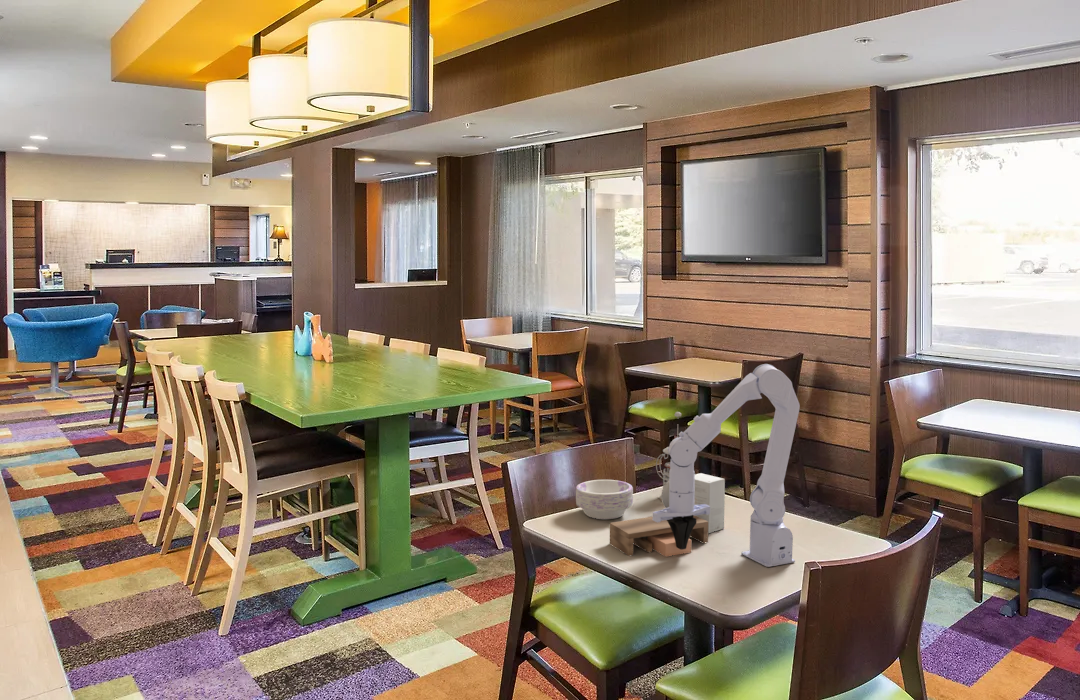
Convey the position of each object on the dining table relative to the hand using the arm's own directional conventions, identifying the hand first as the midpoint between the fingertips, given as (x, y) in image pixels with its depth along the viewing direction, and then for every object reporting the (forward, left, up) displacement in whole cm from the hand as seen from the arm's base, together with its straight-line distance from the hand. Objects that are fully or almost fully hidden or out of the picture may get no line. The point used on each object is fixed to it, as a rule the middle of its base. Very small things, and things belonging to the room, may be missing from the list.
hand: (681, 548), depth 196 cm
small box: (+15, -17, -2) cm, 23 cm away
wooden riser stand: (+10, 0, -2) cm, 10 cm away
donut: (+28, -18, -2) cm, 33 cm away
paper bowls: (+35, +1, -2) cm, 35 cm away
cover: (+5, 0, -2) cm, 5 cm away
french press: (+41, -25, -2) cm, 48 cm away
